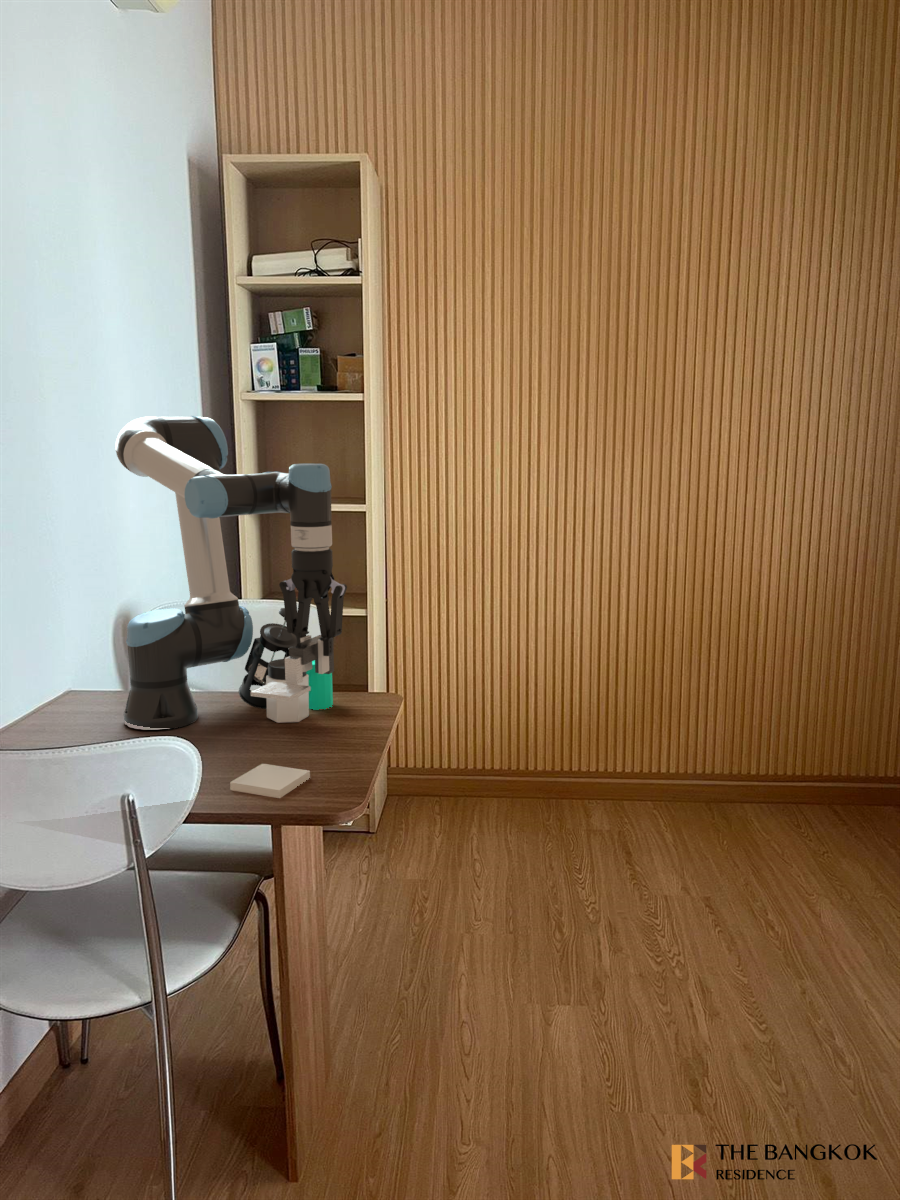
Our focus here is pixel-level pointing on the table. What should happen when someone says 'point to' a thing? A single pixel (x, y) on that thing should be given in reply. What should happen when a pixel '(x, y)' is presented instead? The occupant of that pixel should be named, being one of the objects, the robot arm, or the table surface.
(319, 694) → the candle
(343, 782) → the table surface
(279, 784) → the tile
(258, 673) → the french press
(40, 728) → the table surface
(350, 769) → the table surface
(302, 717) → the jar
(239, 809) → the table surface
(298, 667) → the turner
